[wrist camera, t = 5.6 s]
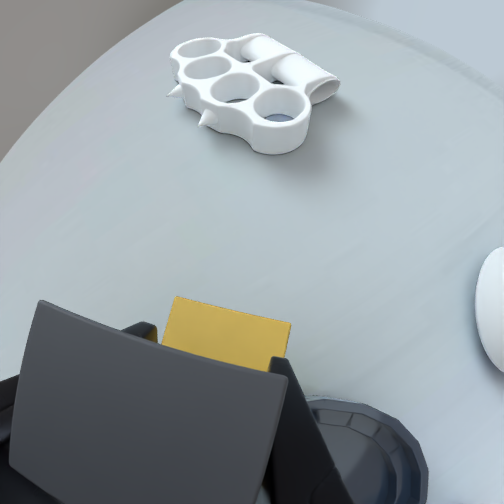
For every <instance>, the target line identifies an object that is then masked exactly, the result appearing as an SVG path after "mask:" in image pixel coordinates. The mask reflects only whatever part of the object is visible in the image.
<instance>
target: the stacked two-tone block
mask: <svg viewBox="0 0 504 504" xmlns="http://www.w3.org/2000/svg"><path fill="white" fill-rule="evenodd" d="M290 329H291V323H288V322H283V321H279V320H274V319H269V318H265V317H260V316H256V315H251V314H247V313H243V312H238V311H234V310H230V309H226V308H221V307H217V306H213V305H209V304H205V303H201V302H197V301H193V300H189V299H186V298H182V297H178V296H176V297H175V298H174V302H173V305H172V309H171V312H170V315H169V319H168V322H167V326H166V329H165V333H164V336H163V340H162V344H159V343H155V342H152V341H149V340H146V339H143V338H140V337H137V336H134V335H131V334H128V333H125V332H123V331H120V330H117V329H114V328H111V327H109V326H106V325H103V324H101V323H98V322H95V321H93V320H90V319H88V318H85V317H83V316H80V315H78V314H75V313H73V312H70V311H68V310H65V309H63V308H61V307H58V306H56V305H54V304H51V303H49V302H47V301H45V300H40V301H39V302H38V305H37V308H36V311H35V314H34V318H33V321H32V325H31V328H30V332H29V336H28V340H27V344H26V348H25V352H24V356H23V361H22V365H21V370H20V375H19V380H18V386H17V391H16V397H15V404H14V411H13V419H12V427H11V438H10V451H9V465H10V466H11V467H12V468H13V469H15V470H16V471H17V472H19V473H20V474H21V475H23V476H24V477H25V478H27V479H28V480H29V481H31V482H32V483H34V484H35V485H36V486H38V487H39V488H41V489H42V490H44V491H45V492H47V493H48V494H50V495H52V496H53V497H55V498H56V499H58V500H60V501H61V502H63V503H65V504H256V501H257V497H258V494H259V491H260V487H261V484H262V481H263V477H264V474H265V470H266V467H267V463H268V460H269V456H270V452H271V449H272V445H273V441H274V438H275V434H276V430H277V426H278V422H279V418H280V414H281V410H282V406H283V402H284V398H285V394H286V390H287V385H288V378H287V377H286V376H284V375H279V374H274V373H270V372H267V369H268V366H269V362H270V359H271V357H272V356H277V357H282V358H284V357H285V352H286V348H287V343H288V338H289V334H290Z"/></svg>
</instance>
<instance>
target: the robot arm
mask: <svg viewBox="0 0 504 504" xmlns="http://www.w3.org/2000/svg"><path fill="white" fill-rule="evenodd" d="M121 331H123V332H125V333H128V334H131V335H134V336H137V337H140V338H143V339H146V340H149V341H152V342H155V343H158V341H157V327H156V326H155V325H153V324H150V323H147V322H139V323H137V324H134V325H132V326H130V327H128V328H125V329H123V330H121ZM267 372H270V373H274V374H279V375H284V376H286V377H287V378H288V385H287V390H286V394H285V398H284V402H283V406H282V410H281V414H280V418H279V422H278V426H277V430H276V434H275V438H274V441H273V445H272V449H271V452H270V456H269V460H268V463H267V467H266V470H265V474H264V477H263V481H262V484H261V487H260V491H259V494H258V497H257V501H256V504H355V502H354V500H353V499H352V497H351V495H350V493H349V491H348V489H347V487H346V485H345V483H344V481H343V479H342V477H341V474H340V472H339V470H338V468H337V467H335V466H336V464H335V462H334V460H333V457H332V455H331V453H330V451H329V449H328V447H327V444H326V442H325V440H324V438H323V436H322V433H321V431H320V429H319V427H318V425H317V422H316V420H315V418H314V416H313V414H312V411H311V409H310V407H309V405H308V403H307V400H306V398H305V396H304V394H303V392H302V389H301V387H300V385H299V383H298V380H297V378H296V376H295V374H294V372H293V369H292V367H291V365H290V363H289V361H288V359H286V358H282V357H277V356H272V357H271V359H270V362H269V366H268V369H267ZM19 375H20V374H19ZM19 375H16V376H14V377H11V378H8V379H6V380H3V381H0V504H65V503H63V502H61V501H60V500H58V499H56V498H55V497H53V496H52V495H50V494H48V493H47V492H45V491H44V490H42V489H41V488H39V487H38V486H36V485H35V484H34V483H32V482H31V481H29V480H28V479H27V478H25V477H24V476H23V475H21V474H20V473H19V472H17V471H16V470H15V469H13V468H12V467H11V466H10V465H9V451H10V438H11V427H12V419H13V411H14V404H15V397H16V391H17V386H18V380H19Z"/></svg>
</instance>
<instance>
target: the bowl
mask: <svg viewBox="0 0 504 504" xmlns="http://www.w3.org/2000/svg"><path fill="white" fill-rule="evenodd" d="M305 398H306V400H307V403H308V405H309V407H310V409H311V411H312V414H313V416H314V418H315V420H316V422H317V425H318V427H319V429H320V431H321V433H322V436H323V438H324V440H325V442H326V444H327V447H328V449H329V451H330V453H331V455H332V457H333V460H334V462H335V464H336V466H335V467H337V468H338V470H339V472H340V474H341V477H342V479H343V481H344V483H345V485H346V487H347V489H348V491H349V493H350V495H351V497H352V499H353V500H354V502H355V504H425V503H426V500H427V490H428V467H427V464H426V461H425V458H424V456H423V453H422V450H421V447H420V444H419V442H418V441H417V440H416V439H415V438H414V437H413V435H412V434H411V433H410V432H409V431H408V430H407V429H406V428H405V427H404V426H403V425H402V424H401V423H400V421H399V420H397V419H396V418H393V417H391V416H389V415H387V414H385V413H383V412H381V411H379V410H377V409H375V408H372V407H370V406H368V405H366V404H363V403H359V402H355V401H351V400H345V399H338V398H331V397H324V396H318V395H316V396H315V395H312V396H305Z"/></svg>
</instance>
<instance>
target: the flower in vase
mask: <svg viewBox="0 0 504 504" xmlns="http://www.w3.org/2000/svg"><path fill="white" fill-rule="evenodd" d="M475 318H476V324H477V329H478V333H479V337H480V340H481V343H482V345H483V348H484V350H485V352H486V353H487V355H488V357H489V358H490V360H491V361H492V362H493V363H494V365H495V366H496V367H497V368H498V369H499V370H500V371H502V372H503V373H504V247H500V248H497V249H495V250H494V251H492V252H491V253H490V254H489V255H488V257H487V258H486V260H485V261H484V263H483V265H482V268H481V270H480V273H479V277H478V281H477V285H476V291H475Z"/></svg>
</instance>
